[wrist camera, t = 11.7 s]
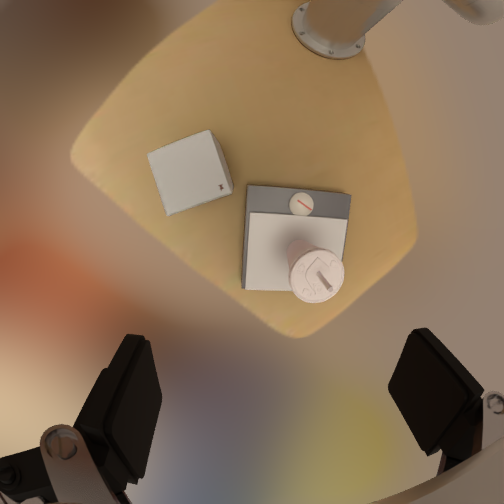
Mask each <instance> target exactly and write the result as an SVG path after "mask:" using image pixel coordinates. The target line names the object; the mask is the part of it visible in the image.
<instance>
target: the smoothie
mask: <svg viewBox="0 0 504 504" xmlns="http://www.w3.org/2000/svg"><path fill="white" fill-rule="evenodd" d="M287 259H288V265H289V275H288V280H289V285H290V287H291V289H292V291H293V292H294V294H295V295H296V296H297V297H298V298H299V299H301V300H303V301H305V302H308V303H319V302H323V301H326V300H328V299H330V298H331V297H332V296H334V295H335V294H336V293H337V292H338V290H339V289H340V287H341V285H342V283H343V280H344V267H343V264H342V262H341V260H340V259H339V258H338V257H337V255H336V254H335V253H333V252H332V251H330V250H329V249H325V248H319V247H317V246H315V245H313V244H311V243H309V242H307V241H304V240H295V241H293V242H292V243H291V244H290V245H289V246H288V248H287Z"/></svg>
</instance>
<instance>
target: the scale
mask: <svg viewBox="0 0 504 504" xmlns="http://www.w3.org/2000/svg"><path fill="white" fill-rule="evenodd" d="M350 202H351V195H349V194H345V193H339V192H330V191H321V190H311V189H301V188H290V187H278V186H264V185H249V184H247V193H246V209H245V225H244V242H243V260H242V278H241V283H242V288H244V289H245V290H275V291H292V289H291V287H290V285H289V280H288V275H289V265H288V259H287V248H288V246H289V245H290V244H291V243H292V242H293V241H295V240H304V241H307V242H309V243H311V244H313V245H315V246H317V247H319V248H325V249H329V250H330V251H332V252H333V253H335V254H336V255H337V257H338V258H339V259H340V260H341V262H342V260H343V253H344V247H345V240H346V233H347V226H348V218H349V210H350Z"/></svg>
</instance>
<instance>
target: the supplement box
mask: <svg viewBox="0 0 504 504" xmlns="http://www.w3.org/2000/svg"><path fill="white" fill-rule="evenodd" d="M147 157H148V160H149V163H150V166H151V169H152V172H153V175H154V179H155V182H156V185H157V188H158V191H159V194H160V197H161V201H162V204H163V207H164V210H165V213H166V215H167V216H171V215H174V214H176V213H179V212H182V211H184V210H187V209H190V208H193V207H195V206H198V205H201V204H204V203H206V202H209V201H212V200H215V199H218V198H221V197H224V196H227V195H230V194H232V192H233V188H234V186H233V182H232V179H231V176H230V172H229V169H228V166H227V163H226V160H225V157H224V154H223V152H222V149H221V146H220V143H219V142H218V140H217V139H216V138H215V136H214V135H213V133H212V132H211V131H210V130H205V131H202V132H199V133H196V134H194V135H191V136H188V137H186V138H183V139H180V140H178V141H175V142H173V143H170V144H168V145H166V146H163V147H161V148H159V149H156V150H154V151H152V152H150V153H148V154H147Z"/></svg>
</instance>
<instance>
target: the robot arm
mask: <svg viewBox="0 0 504 504" xmlns="http://www.w3.org/2000/svg"><path fill="white" fill-rule="evenodd" d="M402 1H403V0H311V1H310V2H307V3H304V4H302V5H301V6H299V7H298V8H297V9H296V10H295V12H294V14H293V17H292V28H293V31H294V33H295V35H296V37H297V38H298V40H299V41H300V42H301V43H302V44H303V45H304V46H305V47H307V48H308V49H309V50H311V51H313V52H314V53H316V54H318V55H321V56H323V57H327V58H331V59H347V58H351V57H353V56H355V55H356V54H357V53H359V52H360V51H361V50H362V48H363V46H364V44H365V33H366V32H367V31H369V30H370V29H371V28H372V27H373V26H374V25H375V24H377V23H378V22H379V21H380V20H381V19H382V18H383V17H384V16H386V15H387V14H388V13H389V12H390V11H392V10H393V9H394V8H395V7H396V6H397V5H399V4H400V3H401V2H402ZM442 1H443V2H445V3H446V4H447V5H448V6H449V7H450V8H452V9H453V10H454V11H455V12H456V13H458V14H459V15H460V16H461V17H463V18H464V19H465V20H468V21H469V22H471V23H473V24H476V25H489V24H492V23H495V22H497V21H499V20H501V19H502V18H504V0H442ZM329 53H330V54H329ZM388 390H389V393H390V394H391V396H392V398H393V400H394V401H395V403H396V405H397V407H398V408H399V410H400V411H401V414H402V415H403V417H404V419H405V421H406V423H407V424H408V426H409V428H410V430H411V432H412V433H413V435H414V437H415V439H416V441H417V442H418V444H419V446H420V448H421V450H423V451H425V453H426V455H427V456H430V455H432V454H434V453H436V452H438V451H439V450H440V449H441V450H442V451H443V452H442V456H441V460H440V464H439V468H438V472H437V475H436V477H434V478H432V479H430V480H428V481H426V482H424V483H422V484H419V485H417V486H415V487H413V488H410V489H408V490H405V491H403V492H400V493H398V494H395V495H392V496H390V497H387V498H384V499H381V500H378V501H375V502H372V503H369V504H504V395H503V394H501V393H499V392H496V391H491V392H488V393H487V394H485V396H484V397H483V399H481V397H480V396H481V395H482V393H483V392H484V389H483V388H482V386H481V385H480V384H479V383H478V382H477V381H476V380H475V378H474V377H473V376H472V375H471V374H470V373H469V371H468V370H467V369H466V368H465V367H464V366H463V365H462V364H461V363H460V362H459V360H458V359H457V358H456V357H455V356H454V355H453V354H452V353H451V352H450V351H449V350H448V349H447V348H446V347H445V345H444V344H443V343H442V342H441V341H440V340H439V339H438V338H437V337H436V336H435V335H434V334H433V333H432V332H431V331H430V330H429V329H428V328H420V329H414V330H413V331H412V332H411V334H409V336H408V338H407V340H406V343H405V346H404V348H403V351H402V354H401V356H400V358H399V361H398V363H397V366H396V368H395V371H394V373H393V375H392V377H391V380H390V382H389V384H388ZM161 403H162V393H161V389H160V385H159V381H158V377H157V372H156V368H155V364H154V360H153V354H152V350H151V345H150V341H149V340H145V338H144V336H142V335H134V334H127V335H126V336H125V337H124V339H123V341H122V343H121V344H120V346H119V348H118V350H117V352H116V353H115V355H114V357H113V359H112V361H111V363H110V364H109V366H108V368H104V369H103V370H102V371H101V373H100V375H99V377H98V378H97V380H96V382H95V384H94V386H93V388H92V390H91V392H90V394H89V395H88V397H87V399H86V401H85V403H84V405H83V407H82V410H81V411H80V413H79V415H78V417H77V419H76V421H75V423H74V425H73V427H71V426H69V425H64V424H60V425H54V426H52V427H50V428H48V429H47V430H46V431H45V432H44V433H43V435H42V436H41V440H40V446H39V447H36V448H33V449H30V450H27V451H23V452H20V453H16V454H13V455H9V456H5V457H2V458H0V504H132V502H131V501H130V499H129V498H128V496H127V495H126V493H125V492H124V490H126V486H127V482H128V483H132V484H136V485H137V483H138V479H139V478H141V479H142V478H143V477H144V475H145V470H146V466H147V461H148V456H149V452H150V448H151V444H152V439H153V435H154V431H155V427H156V423H157V419H158V415H159V411H160V407H161Z"/></svg>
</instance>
